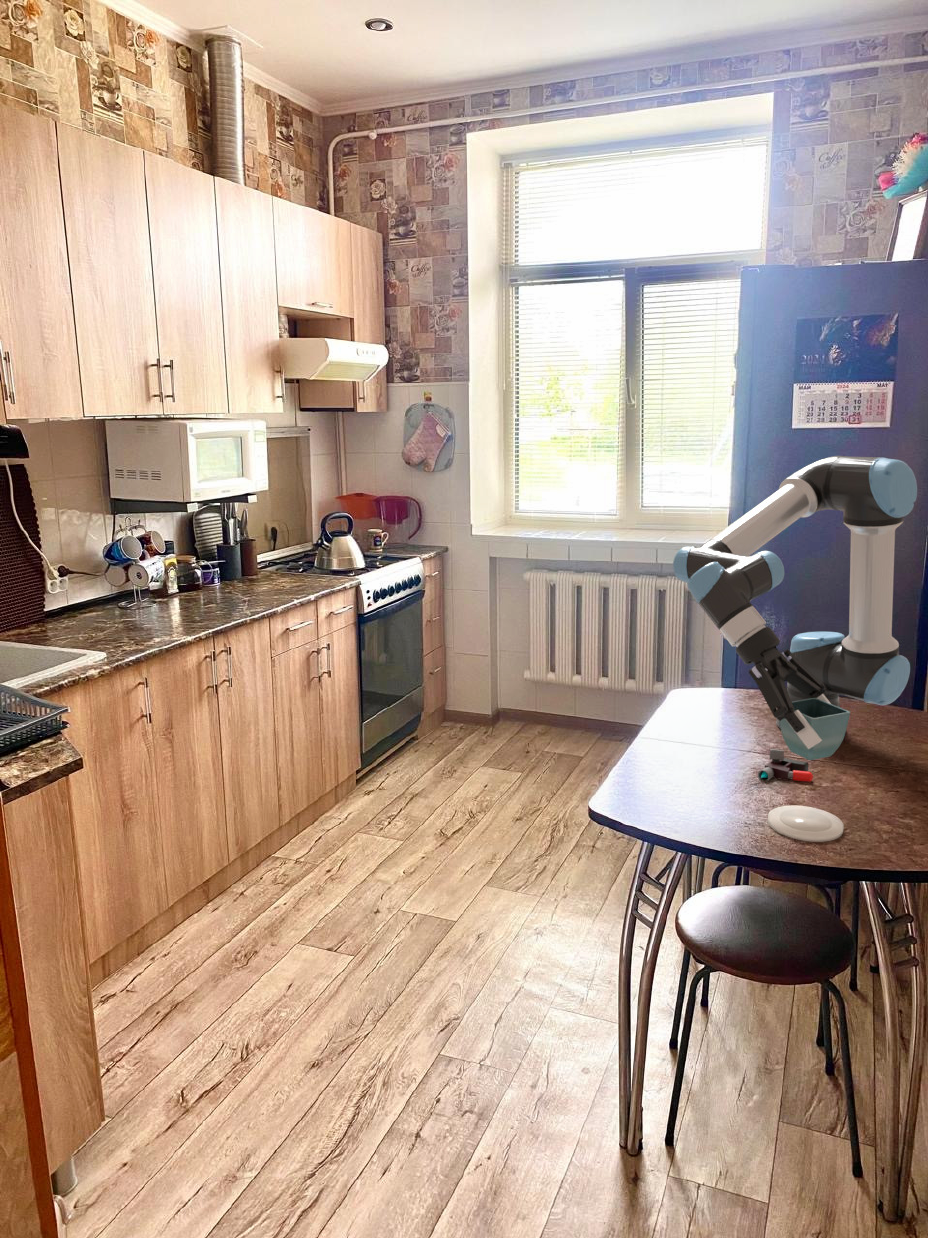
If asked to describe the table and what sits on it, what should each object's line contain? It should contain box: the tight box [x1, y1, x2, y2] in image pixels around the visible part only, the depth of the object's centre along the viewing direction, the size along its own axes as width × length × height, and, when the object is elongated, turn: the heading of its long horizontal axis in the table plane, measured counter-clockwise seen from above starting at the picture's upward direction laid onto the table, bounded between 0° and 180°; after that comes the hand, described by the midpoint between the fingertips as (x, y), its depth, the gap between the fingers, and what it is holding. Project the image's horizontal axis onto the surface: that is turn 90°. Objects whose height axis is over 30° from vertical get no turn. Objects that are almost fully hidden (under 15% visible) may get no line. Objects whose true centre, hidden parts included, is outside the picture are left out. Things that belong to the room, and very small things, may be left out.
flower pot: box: [780, 698, 851, 761], centre depth 166 cm, size 9×9×9 cm
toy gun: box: [757, 748, 814, 783], centre depth 192 cm, size 10×12×5 cm
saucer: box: [767, 804, 844, 843], centre depth 170 cm, size 13×13×1 cm
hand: (827, 736), depth 164 cm, fingers closed on flower pot, 11 cm apart
